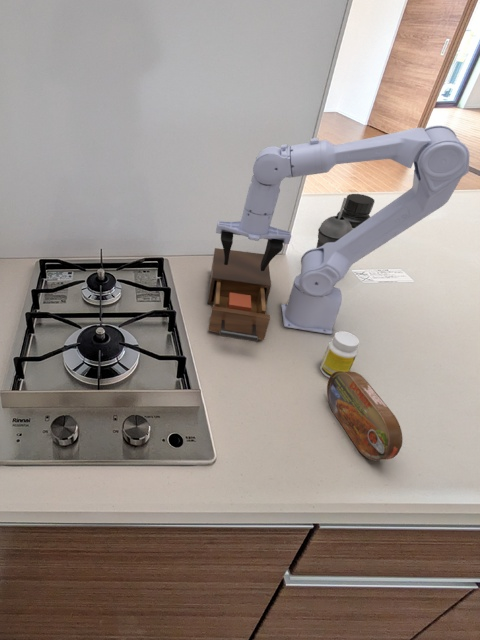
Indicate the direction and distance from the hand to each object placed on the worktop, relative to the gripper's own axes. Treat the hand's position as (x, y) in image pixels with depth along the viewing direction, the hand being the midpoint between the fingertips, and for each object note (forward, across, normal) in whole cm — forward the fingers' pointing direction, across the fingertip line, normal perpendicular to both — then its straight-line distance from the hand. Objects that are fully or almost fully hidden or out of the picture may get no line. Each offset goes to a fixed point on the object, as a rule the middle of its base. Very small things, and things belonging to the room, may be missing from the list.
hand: (243, 265), depth 94 cm
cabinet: (+10, 0, +5) cm, 11 cm away
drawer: (+10, 0, -8) cm, 13 cm away
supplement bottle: (+10, +18, -17) cm, 27 cm away
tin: (+10, +19, -30) cm, 37 cm away
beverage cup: (+10, +21, +19) cm, 30 cm away
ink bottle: (+10, +31, +41) cm, 52 cm away
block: (+8, 0, -7) cm, 11 cm away
